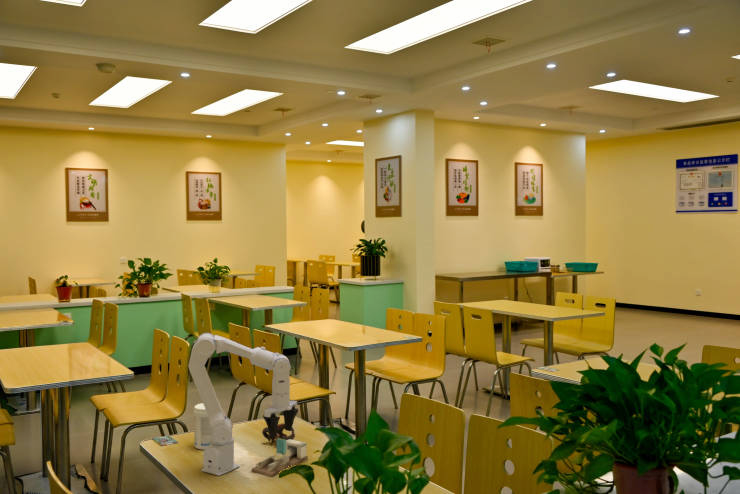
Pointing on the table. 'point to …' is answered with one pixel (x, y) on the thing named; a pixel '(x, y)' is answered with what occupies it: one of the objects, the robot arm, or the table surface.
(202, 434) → the supplement tub
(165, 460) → the table surface
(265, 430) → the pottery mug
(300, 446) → the socket block
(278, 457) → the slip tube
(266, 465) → the channel board
